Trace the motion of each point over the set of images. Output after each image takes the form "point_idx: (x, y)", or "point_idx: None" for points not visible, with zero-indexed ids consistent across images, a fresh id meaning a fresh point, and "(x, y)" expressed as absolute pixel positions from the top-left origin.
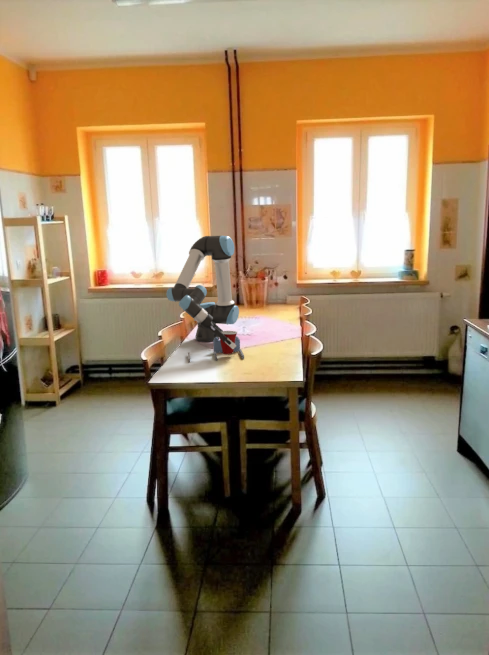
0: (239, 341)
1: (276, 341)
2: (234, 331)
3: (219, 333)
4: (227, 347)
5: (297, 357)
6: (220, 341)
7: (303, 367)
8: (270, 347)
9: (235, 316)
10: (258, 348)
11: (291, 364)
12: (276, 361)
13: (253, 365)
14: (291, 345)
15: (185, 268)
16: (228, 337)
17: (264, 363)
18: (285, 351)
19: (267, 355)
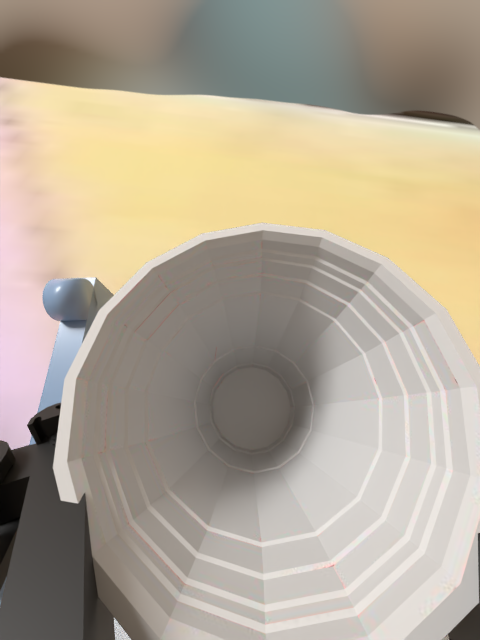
0: (103, 289)
1: (13, 140)
2: (170, 262)
3: None
4: (320, 411)
5: (307, 116)
6: (264, 509)
7: (445, 120)
8: (113, 173)
9: None
10: (109, 222)
11: (408, 144)
12: (365, 182)
13: (441, 277)
14: (115, 107)
15: None
16: (399, 386)
17: (400, 227)
18: (206, 135)
19: (258, 201)
